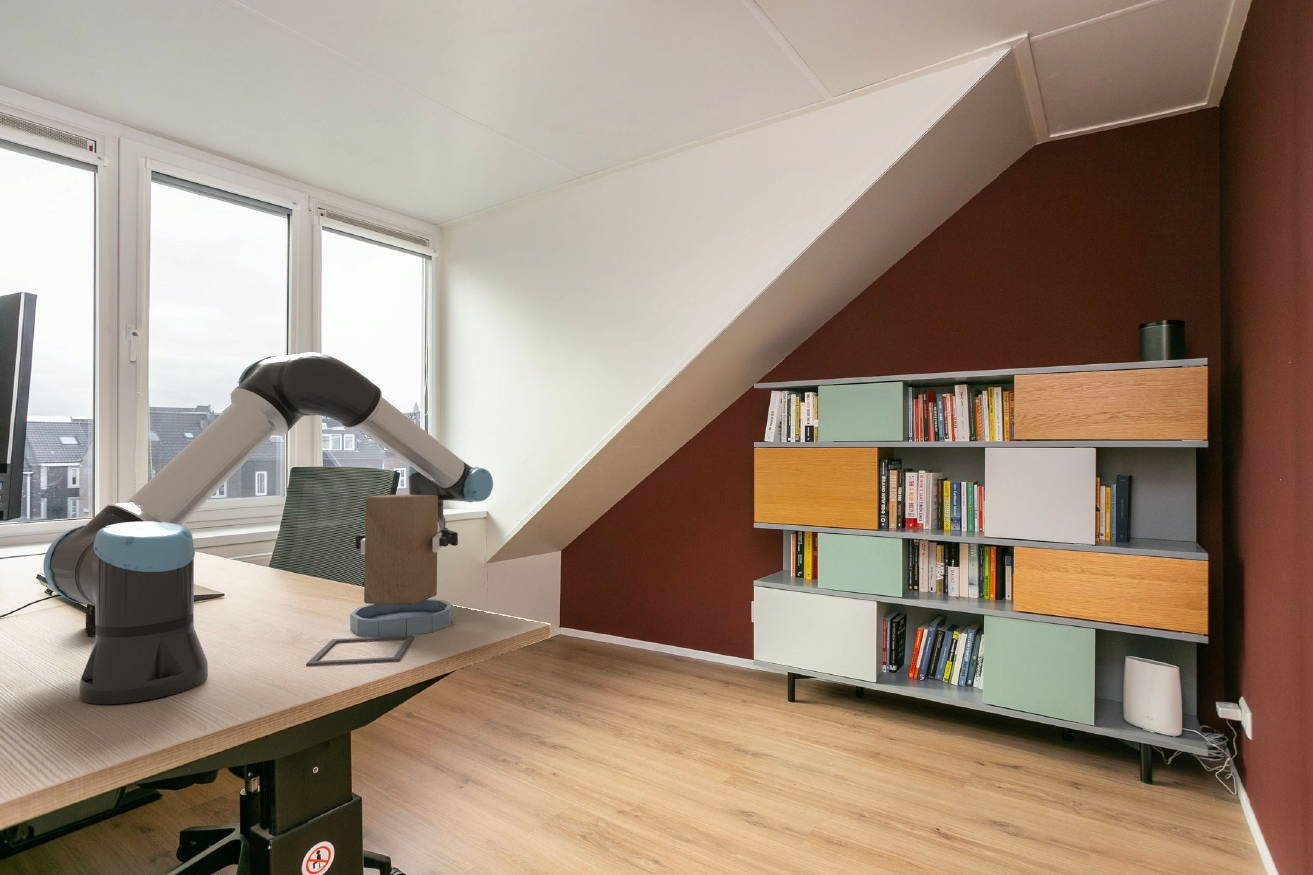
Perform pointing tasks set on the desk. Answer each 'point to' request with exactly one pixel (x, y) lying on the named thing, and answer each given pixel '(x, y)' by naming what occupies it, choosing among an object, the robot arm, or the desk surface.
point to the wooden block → (400, 549)
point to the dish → (400, 618)
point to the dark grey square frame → (397, 657)
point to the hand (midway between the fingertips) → (399, 546)
